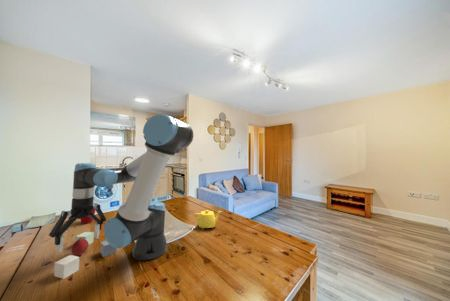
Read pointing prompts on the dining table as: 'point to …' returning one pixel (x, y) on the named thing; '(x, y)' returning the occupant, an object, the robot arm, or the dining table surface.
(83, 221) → the plastic cup
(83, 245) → the onion
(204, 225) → the teapot
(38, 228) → the dining table surface
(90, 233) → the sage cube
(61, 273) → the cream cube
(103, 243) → the slate cube
